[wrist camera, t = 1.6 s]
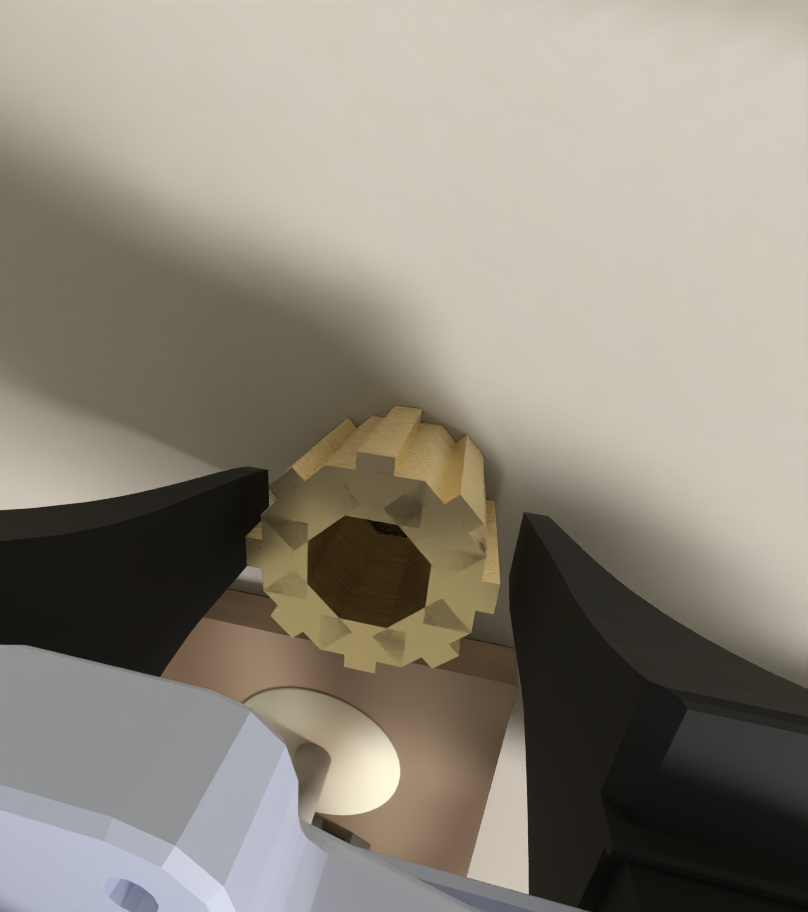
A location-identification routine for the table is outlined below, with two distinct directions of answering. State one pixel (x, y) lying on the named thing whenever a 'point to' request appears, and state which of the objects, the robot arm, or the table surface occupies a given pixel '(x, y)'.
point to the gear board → (366, 729)
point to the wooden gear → (381, 543)
